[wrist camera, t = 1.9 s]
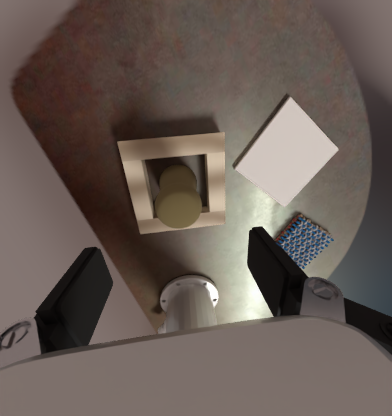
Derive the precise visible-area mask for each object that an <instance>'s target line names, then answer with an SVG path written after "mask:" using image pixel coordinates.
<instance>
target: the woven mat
mask: <svg viewBox="0 0 392 416" xmlns="http://www.w3.org/2000/svg"><path fill="white" fill-rule="evenodd" d="M301 217H303V215H302V214H300V215H298V216H297V217H296V218H295V219H294V218H293V221H292V222H291V223H290V224H289V225H288V226H287V228H286V229H285V230H284V232H283V231H282V232H281V233H282V234H280V235H279V236H278V238H276V240H275V242H276V243H277V244H278V245H279V246H281V247H282V248H283V249H284V250H285V251H286V253H287V254H288V255H289V256H290V257H291V258H292V259H293V260H294V262H295V263H296V264H297V265H298V266H299V267H300V268H301V267H302V268H303V269H304V268H305V267H303V265H305V266H306V265H307V264H306V263H310V262H309V261H310V260H312V258H313V257H314V258H316V256H315V254H316V255H318V253H317V252H320V253H321V252H322V251H321V249H324V248H323V246H324V245H325V246H326V247H327V246H328V245H326V244H325V243H326V242H327V243H330V242H329V241H328V240H332V241H334V240H333V239H332V238H331V237H332V235H330V233H329V234H328V231H323V230H324V229H322V228H321V227H318V225H316V226H315V225H313V224H312V223H311V220H310V219H307V221H305V218H306V217H305V216H304V217H303V218H301ZM298 219H300V221H297V220H298ZM295 222H296V223H297V224H296V225H295V224H294V223H295ZM303 222H304V223H303ZM292 225H293V226H294V228H293V227H291V226H292ZM299 226H300V227H299ZM309 228H311V229H309ZM289 229H291V231H289ZM324 232H325V233H324ZM303 234H304V235H303ZM314 234H315V235H314ZM322 234H323V235H322ZM291 235H292V236H291ZM298 235H299V236H298ZM307 235H308V236H307ZM314 236H315V237H314ZM329 236H330V237H329ZM294 237H295V239H294ZM281 238H282V240H280V239H281ZM305 238H306V239H305ZM312 238H313V239H312ZM304 239H305V240H304ZM308 240H309V241H308ZM285 241H286V242H285ZM278 242H279V243H278ZM301 242H303V243H301ZM318 243H319V244H318ZM299 244H300V245H299ZM298 245H299V246H298ZM316 245H317V246H316ZM285 246H287V247H285ZM293 246H294V247H293ZM308 246H309V247H308ZM318 248H319V249H318ZM305 249H307V250H305ZM316 250H317V251H316ZM312 253H314V254H312ZM310 256H311V257H310ZM295 260H296V261H295Z"/></svg>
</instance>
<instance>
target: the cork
mask: <svg viewBox="0 0 392 416" xmlns="http://www.w3.org/2000/svg"><path fill="white" fill-rule="evenodd" d="M159 186H160V192H159V193H158V195H157V197H156V201H155V212H156V214H157V216H158V219H159V220H160V221H161V222H162V223H163V224H165V225H166V226H168V227H171V228H175V229H183V228H186V227H189V226H191V225H192V224H194V223H195V222H196V221H197V219H198V218H199V216H200V213H201V211H202V202H201V198H200V195H199V194H198V192H197V191H196V188H197V180H196V176H195V174H194V173H193V171H192V170H191V169H189V168H188V167H186V166H183V165H172V166H169V167H168V168H166V169H165V170H164V171H163V172H162V174H161V176H160V180H159Z"/></svg>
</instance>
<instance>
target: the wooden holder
mask: <svg viewBox="0 0 392 416" xmlns="http://www.w3.org/2000/svg"><path fill="white" fill-rule="evenodd" d="M117 143H118V147H119V151H120V155H121V159H122V163H123V167H124V171H125V175H126V179H127V183H128V187H129V191H130V195H131V199H132V203H133V207H134V211H135V215H136V219H137V223H138V227H139V231H140V234H146V233H154V232H163V231H171V230H179V229H175V228H171V227H168V226H166V225H165V224H163V223H162V222H161V221H160V220H159V219H158V216H157V214H156V212H155V209H154V204H153V199H152V194H151V189H150V184H149V179H148V174H147V169H146V164H145V159H155V158H166V157H176V156H187V155H197V154H204V156H205V173H206V191H207V206H203V207H202V211H201V213H200V216H199V218H198V219H197V221H196V222H195V223H194V224H192V225H191V226H189V227H186V228H183V229H188V228H196V227H204V226H212V225H221V224H225V138H224V132H218V133H207V134H196V135H184V136H173V137H162V138H150V139H139V140H127V141H119V142H117Z"/></svg>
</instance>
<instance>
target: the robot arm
mask: <svg viewBox="0 0 392 416" xmlns="http://www.w3.org/2000/svg"><path fill="white" fill-rule="evenodd" d="M247 264H248V268H249V270H250V272H251V274H252V276H253V278H254V280H255V281H256V283H257V285H258V287H259V289H260V291H261V293H262V295H263V297H264V299H265V301H266V303H267V305H268V307H269V309H270V310H271V312H272V314H273V316H274V317H270V318H262V319H255V320H247V321H241V322H234V323H227V324H220V325H217V320H216V316H215V311H214V307H215V306H216V304H217V302H218V290H217V288H216V286H215V284H214V283H213V282H212V281H211V280H209V279H207V278H205V277H202V276H198V275H187V276H182V277H178V278H176V279H174V280H172V281H171V282H169V283H168V284H167V285H166V286H165V287H164V289H163V290H162V293H161V298H160V304H161V307H162V309H163V310H164V311H165V312H166V313H167V314H166V319H165V323H163V324H162V325H161V326H160V327H159V329H158V334H155V335H149V336H142V337H136V338H130V339H124V340H118V341H112V342H105V343H100V344H93V345H88V344H89V342H90V340H91V337H92V335H93V332H94V330H95V328H96V325H97V323H98V320H99V318H100V315H101V313H102V310H103V308H104V306H105V303H106V301H107V298H108V296H109V293H110V291H111V289H112V286H113V281H112V278H111V275H110V273H109V270H108V268H107V265H106V263H105V260H104V257H103V255H102V252H101V250H100V249H98V248H97V247H90V248H85V249H84V250H83V251H82V252H81V254H80V255H79V256H78V257H77V259H76V260H75V261H74V263H73V264H72V265H71V266H70V268H69V269H68V270H67V272H66V273H65V274H64V275H63V277H62V278H61V279H60V281H59V282H58V283H57V285H56V286H55V287H54V288H53V290H52V291H51V292H50V294H49V295H48V296H47V297H46V299H45V300H44V301H43V302H42V304H41V305H40V306H39V308H38V309H37V310H36V313H37V314H36V316H35V317H34V318H24V319H21V320H18V321H16V322H14V323H12V324H11V325H9V326H8V327H6V328H5V329H4V330H3V331H1V332H0V416H392V317H390V316H388V315H385V314H383V313H380V312H378V311H376V310H373V309H371V308H368V307H366V306H363V305H361V304H358V303H356V302H353V301H351V300H349V299H346V298H344V297H343V294H342V292H341V290H340V289H339V288H338V287H337V286H336V285H335V284H333V283H332V282H330V281H328V280H326V279H324V278H320V277H310V278H309V277H308V276H307V275H306V274H305V273H304V272H303V271H302V269H301V268H300V267H299V266H298V265H297V264H296V263H295V262H294V260H293V259H292V258H291V257H290V256H289V255H288V254H287V253H286V251H285V250H284V249H283V248H282V247H281V246H279V245H278V244H277V243H276V242H275V241H274V240H273V238H272V237H271V236H270V235H269V234H268V233H267V232H266V230H265V229H264V228H263V227H253V228H252V230H250V231H249V243H248V259H247Z"/></svg>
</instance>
